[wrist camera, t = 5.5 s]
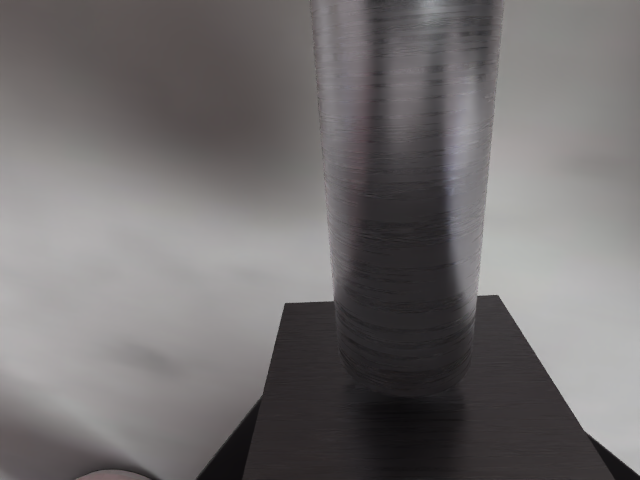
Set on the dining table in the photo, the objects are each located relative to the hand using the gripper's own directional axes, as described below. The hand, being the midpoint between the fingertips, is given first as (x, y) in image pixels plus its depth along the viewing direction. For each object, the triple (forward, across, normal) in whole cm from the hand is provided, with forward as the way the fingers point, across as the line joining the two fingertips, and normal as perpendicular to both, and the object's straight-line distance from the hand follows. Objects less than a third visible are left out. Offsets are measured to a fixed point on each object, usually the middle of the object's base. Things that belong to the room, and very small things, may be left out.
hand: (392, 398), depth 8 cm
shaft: (+1, 0, -9) cm, 9 cm away
